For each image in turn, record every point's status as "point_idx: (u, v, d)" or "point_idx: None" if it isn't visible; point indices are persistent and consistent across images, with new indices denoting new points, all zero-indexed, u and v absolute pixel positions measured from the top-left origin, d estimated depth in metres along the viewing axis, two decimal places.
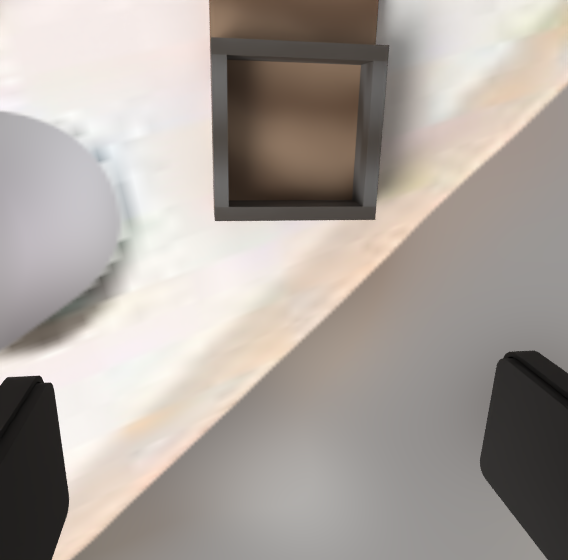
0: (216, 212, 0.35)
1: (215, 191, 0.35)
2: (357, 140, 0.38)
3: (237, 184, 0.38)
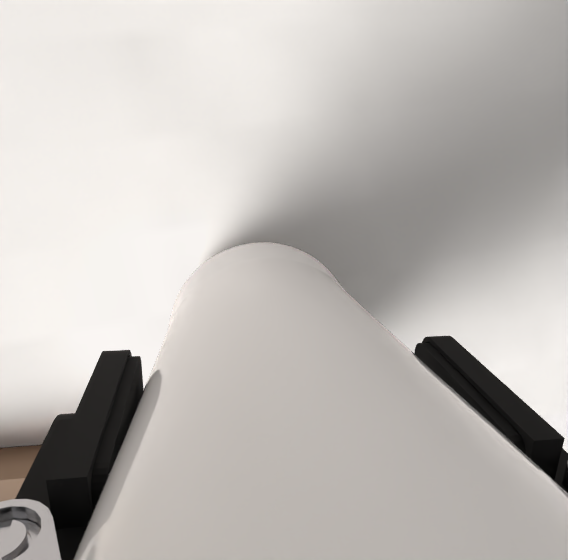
0: None
1: None
2: None
3: None
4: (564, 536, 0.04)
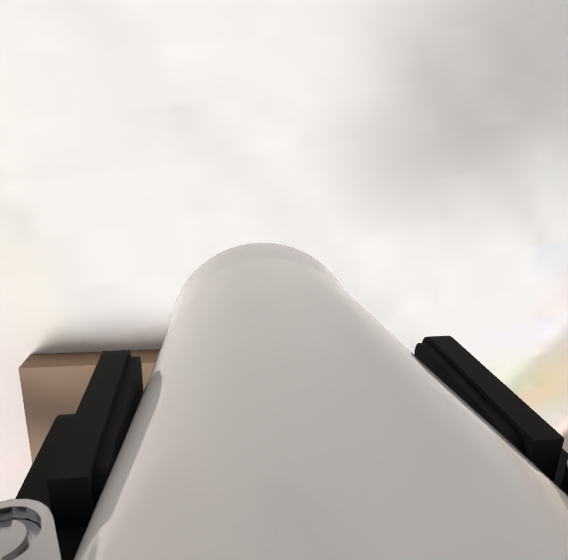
0: None
1: None
2: None
3: None
4: (559, 534, 0.04)
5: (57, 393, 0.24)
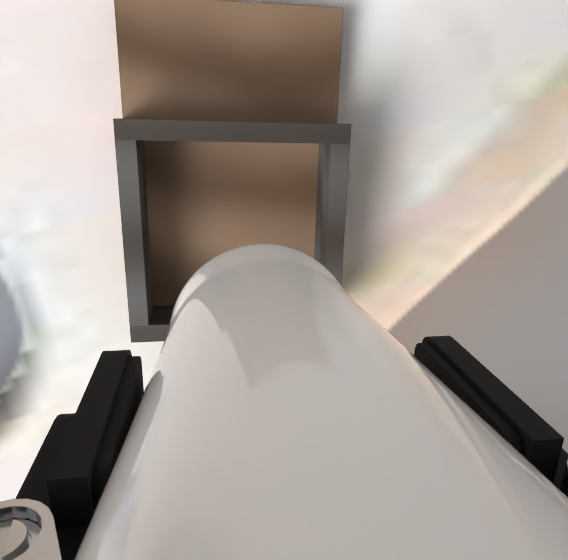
0: (132, 332, 0.28)
1: (129, 307, 0.27)
2: (316, 232, 0.30)
3: (166, 287, 0.30)
4: (566, 544, 0.04)
5: (147, 26, 0.26)
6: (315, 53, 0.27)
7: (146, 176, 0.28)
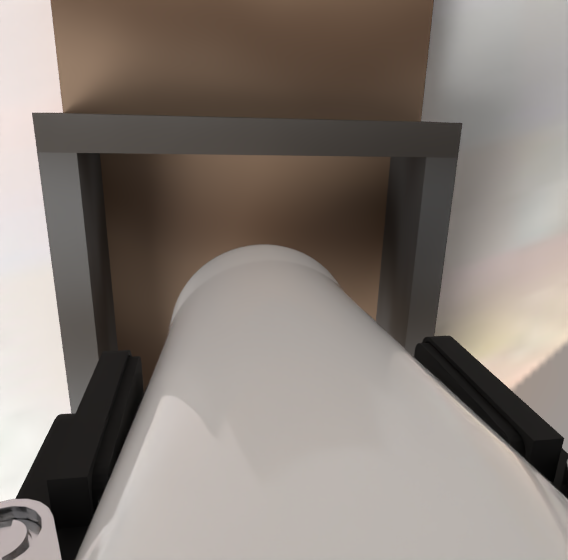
0: None
1: None
2: (382, 295, 0.19)
3: (143, 381, 0.19)
4: (566, 546, 0.04)
5: None
6: (391, 2, 0.16)
7: (106, 209, 0.17)
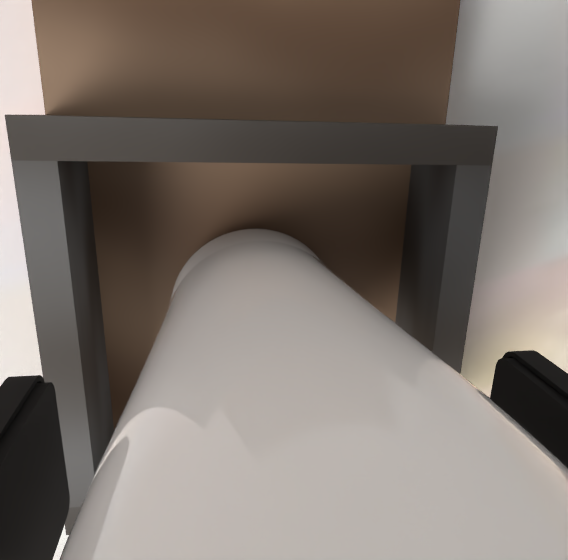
0: (68, 518, 0.15)
1: None
2: (400, 316, 0.17)
3: None
4: (467, 406, 0.05)
5: None
6: None
7: (95, 223, 0.15)
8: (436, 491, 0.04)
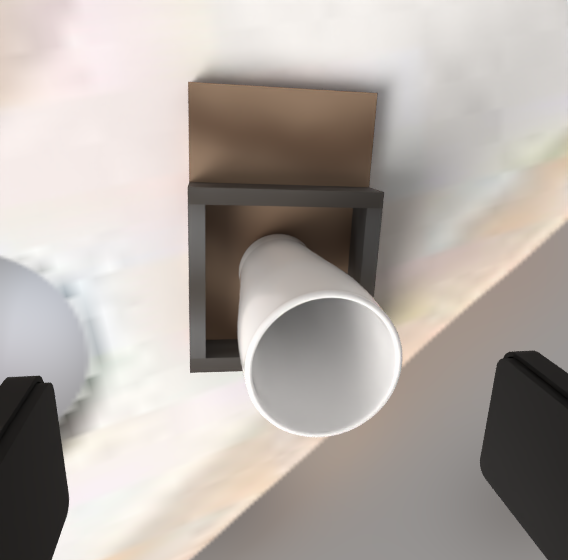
0: (191, 363, 0.32)
1: (191, 342, 0.32)
2: None
3: (217, 323, 0.35)
4: (337, 269, 0.23)
5: (214, 107, 0.31)
6: (353, 129, 0.32)
7: (206, 229, 0.33)
8: (323, 273, 0.21)
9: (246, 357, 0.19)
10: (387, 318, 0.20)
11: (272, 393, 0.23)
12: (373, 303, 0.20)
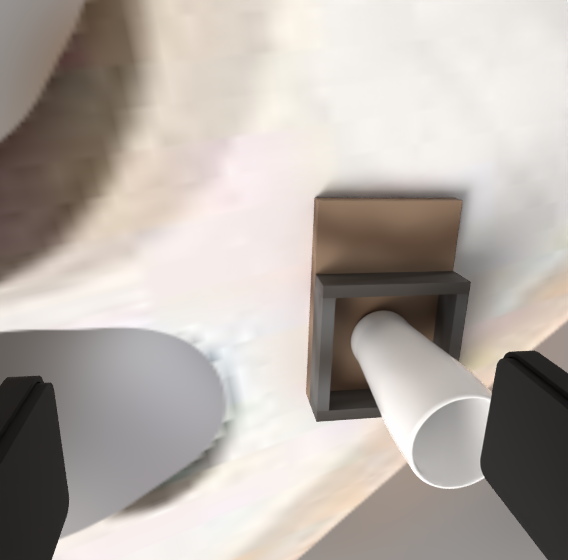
0: (318, 415, 0.41)
1: (318, 399, 0.41)
2: (435, 341, 0.43)
3: (330, 378, 0.44)
4: (458, 365, 0.31)
5: (337, 218, 0.39)
6: (442, 228, 0.41)
7: None
8: (454, 373, 0.30)
9: (409, 438, 0.28)
10: None
11: None
12: None
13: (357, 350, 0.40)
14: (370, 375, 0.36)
